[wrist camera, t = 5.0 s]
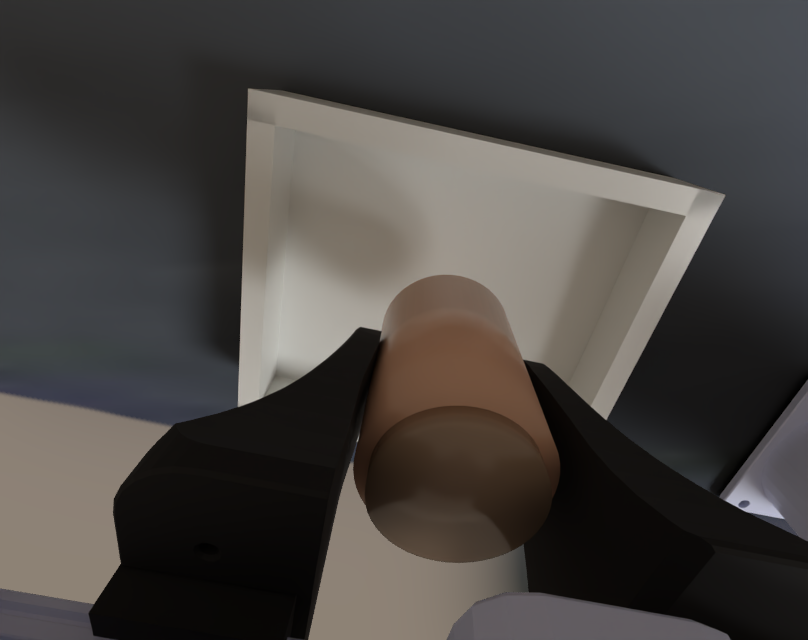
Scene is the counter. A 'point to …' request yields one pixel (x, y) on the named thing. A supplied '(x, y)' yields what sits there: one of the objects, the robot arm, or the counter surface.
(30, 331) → the counter surface
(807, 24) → the counter surface
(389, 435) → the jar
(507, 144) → the tray
